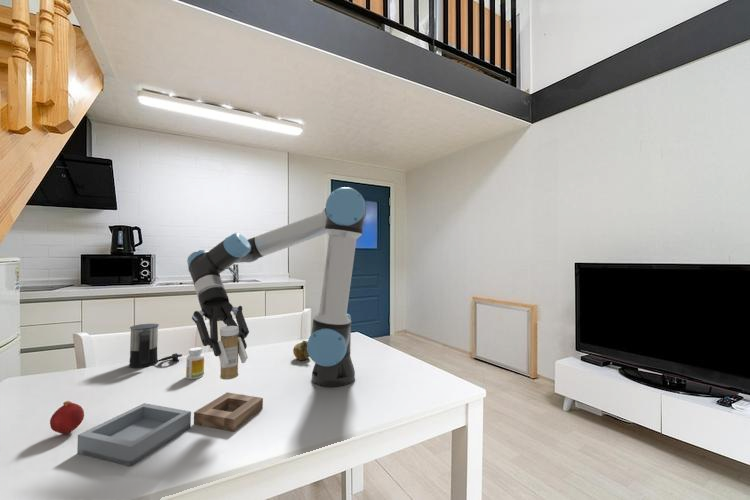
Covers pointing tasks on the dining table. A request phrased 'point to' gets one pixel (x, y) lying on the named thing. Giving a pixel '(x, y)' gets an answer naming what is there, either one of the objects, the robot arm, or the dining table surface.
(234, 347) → the sprinkles bottle
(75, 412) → the onion
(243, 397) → the walnut holder
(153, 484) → the dining table surface
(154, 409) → the grey tray
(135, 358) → the milk frother
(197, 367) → the supplement bottle
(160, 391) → the dining table surface
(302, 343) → the onion
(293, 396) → the dining table surface
